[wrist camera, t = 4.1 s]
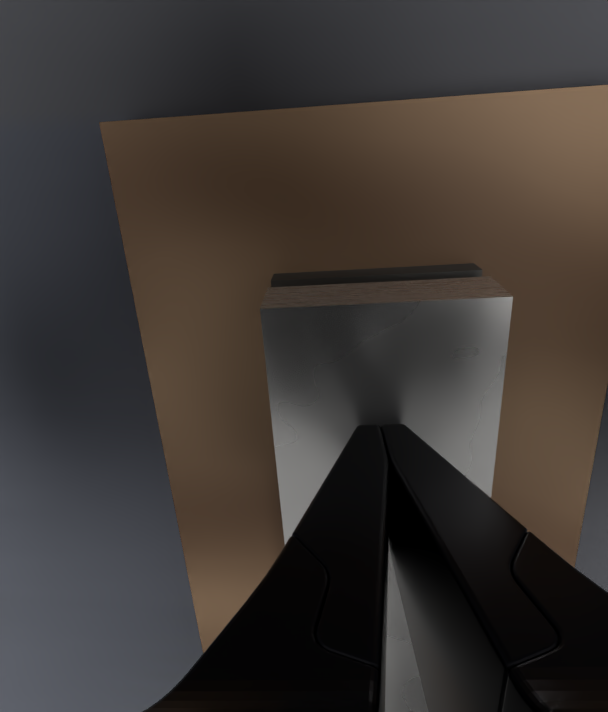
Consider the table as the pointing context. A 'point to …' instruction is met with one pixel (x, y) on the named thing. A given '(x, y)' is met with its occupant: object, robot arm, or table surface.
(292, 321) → the bar
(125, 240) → the walnut board
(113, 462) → the table surface
